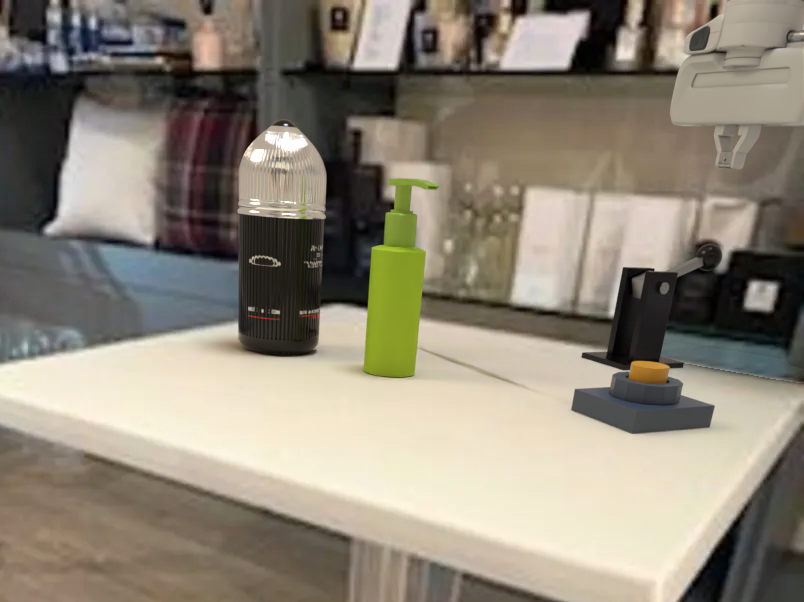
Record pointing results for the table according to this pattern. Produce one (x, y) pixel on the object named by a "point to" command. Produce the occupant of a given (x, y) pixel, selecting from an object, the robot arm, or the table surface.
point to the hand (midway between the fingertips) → (728, 168)
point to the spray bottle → (280, 242)
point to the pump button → (649, 372)
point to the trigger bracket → (639, 321)
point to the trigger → (687, 266)
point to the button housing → (642, 406)
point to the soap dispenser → (396, 289)
